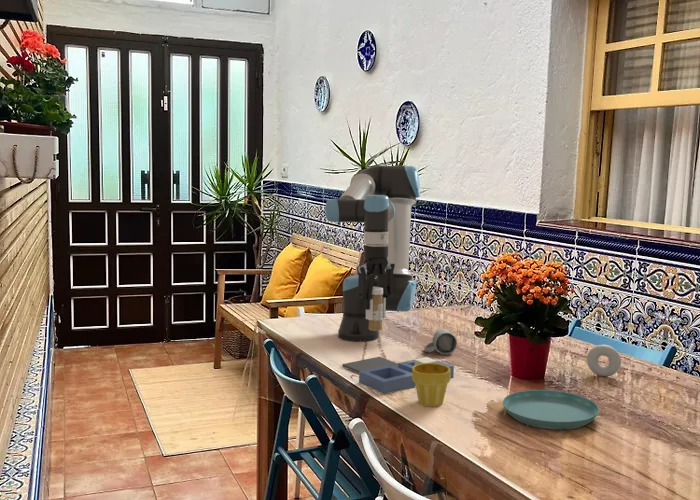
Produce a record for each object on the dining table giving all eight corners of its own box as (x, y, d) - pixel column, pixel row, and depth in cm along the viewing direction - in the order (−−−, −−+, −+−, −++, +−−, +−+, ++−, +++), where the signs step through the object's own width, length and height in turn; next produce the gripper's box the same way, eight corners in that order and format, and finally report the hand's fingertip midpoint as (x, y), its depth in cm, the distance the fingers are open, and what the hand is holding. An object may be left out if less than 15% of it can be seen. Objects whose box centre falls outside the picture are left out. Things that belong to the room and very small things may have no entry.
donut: (620, 377, 217) (622, 345, 216) (619, 380, 214) (621, 348, 213) (586, 372, 222) (588, 341, 220) (585, 375, 218) (586, 344, 217)
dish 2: (398, 374, 220) (398, 363, 219) (427, 367, 227) (427, 356, 226) (423, 384, 210) (424, 372, 210) (453, 377, 217) (453, 365, 217)
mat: (342, 366, 228) (342, 364, 227) (379, 358, 236) (379, 356, 236) (370, 378, 215) (370, 375, 215) (408, 369, 224) (408, 367, 224)
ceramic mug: (451, 348, 250) (452, 326, 249) (457, 354, 242) (457, 332, 241) (422, 349, 249) (422, 327, 248) (426, 355, 241) (426, 333, 240)
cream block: (414, 375, 219) (414, 359, 218) (426, 372, 222) (426, 357, 221) (424, 379, 215) (425, 363, 214) (437, 376, 218) (437, 360, 217)
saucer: (552, 395, 201) (552, 384, 201) (619, 424, 180) (620, 411, 180) (483, 409, 190) (483, 397, 190) (546, 441, 169) (547, 427, 169)
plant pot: (425, 411, 187) (425, 375, 186) (404, 399, 197) (405, 365, 195) (457, 405, 192) (458, 370, 191) (435, 394, 201) (436, 360, 200)
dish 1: (359, 382, 211) (359, 371, 211) (390, 375, 218) (390, 364, 218) (384, 393, 201) (384, 381, 201) (416, 386, 208) (416, 374, 208)
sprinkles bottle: (365, 329, 224) (365, 287, 222) (374, 327, 227) (374, 285, 226) (376, 332, 221) (377, 289, 219) (385, 329, 224) (386, 287, 223)
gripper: (360, 248, 213) (360, 324, 216) (405, 244, 223) (404, 317, 226) (346, 245, 219) (346, 319, 222) (390, 241, 229) (389, 312, 232)
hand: (375, 318), depth 224 cm, fingers closed on sprinkles bottle, 4 cm apart
